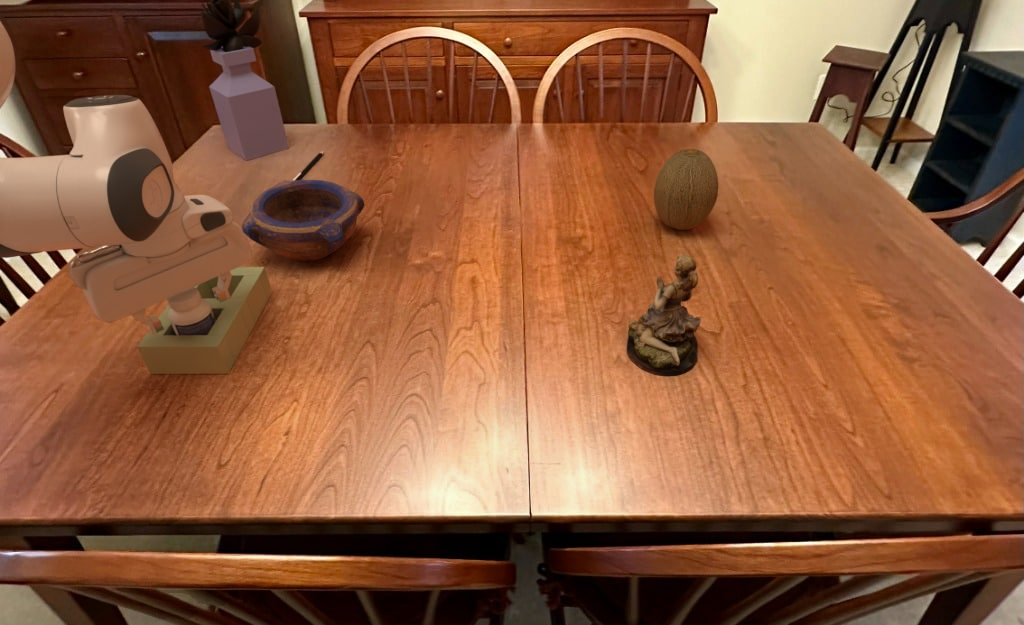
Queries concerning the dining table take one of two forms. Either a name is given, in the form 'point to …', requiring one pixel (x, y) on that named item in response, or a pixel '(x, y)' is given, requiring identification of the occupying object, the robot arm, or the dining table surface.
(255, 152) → the vase
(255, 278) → the compartment tray
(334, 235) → the bowl
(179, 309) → the pill bottle
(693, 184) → the fruit
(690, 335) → the figurine
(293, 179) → the pen
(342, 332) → the dining table surface
